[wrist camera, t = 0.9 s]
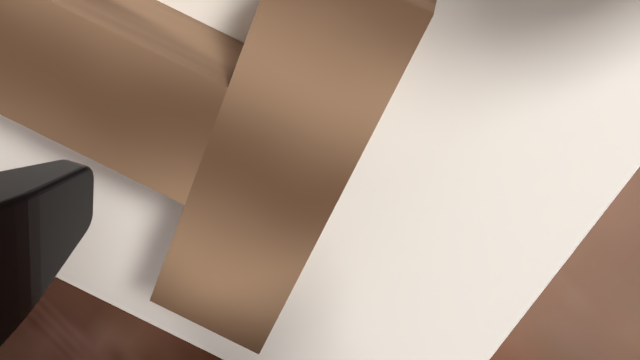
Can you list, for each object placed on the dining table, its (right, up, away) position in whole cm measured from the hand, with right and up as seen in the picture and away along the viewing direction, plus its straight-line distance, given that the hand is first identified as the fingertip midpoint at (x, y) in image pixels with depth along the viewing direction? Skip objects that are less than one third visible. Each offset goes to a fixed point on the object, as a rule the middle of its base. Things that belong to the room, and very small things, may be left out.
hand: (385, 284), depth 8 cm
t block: (-5, +5, +12) cm, 14 cm away
